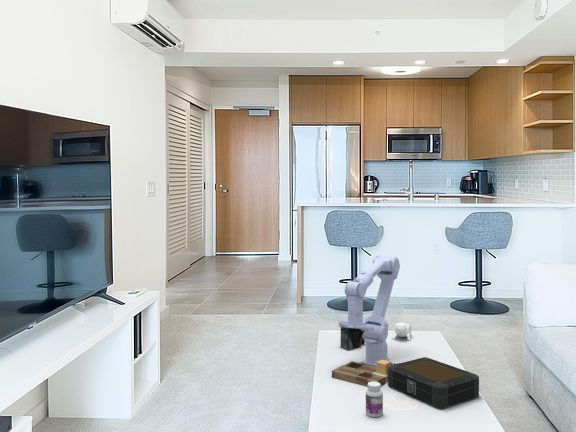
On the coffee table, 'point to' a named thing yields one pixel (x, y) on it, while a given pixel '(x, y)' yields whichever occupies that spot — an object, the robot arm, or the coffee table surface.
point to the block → (382, 367)
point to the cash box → (433, 382)
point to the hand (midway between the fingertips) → (355, 347)
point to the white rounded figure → (402, 330)
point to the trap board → (359, 374)
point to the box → (346, 340)
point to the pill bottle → (374, 400)
